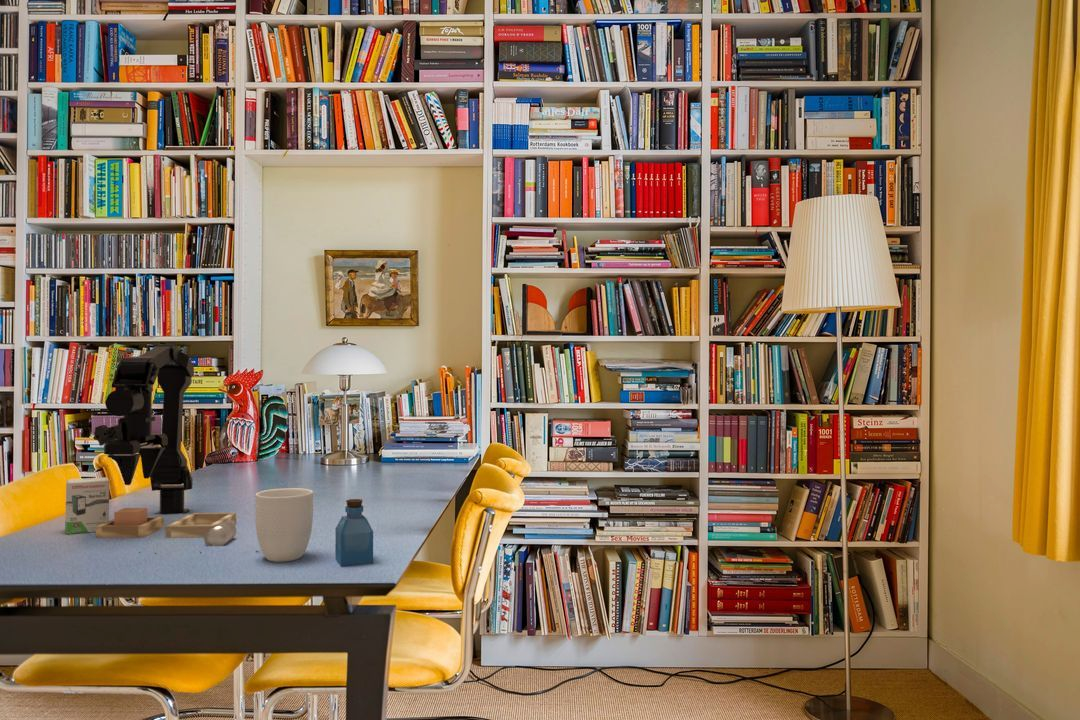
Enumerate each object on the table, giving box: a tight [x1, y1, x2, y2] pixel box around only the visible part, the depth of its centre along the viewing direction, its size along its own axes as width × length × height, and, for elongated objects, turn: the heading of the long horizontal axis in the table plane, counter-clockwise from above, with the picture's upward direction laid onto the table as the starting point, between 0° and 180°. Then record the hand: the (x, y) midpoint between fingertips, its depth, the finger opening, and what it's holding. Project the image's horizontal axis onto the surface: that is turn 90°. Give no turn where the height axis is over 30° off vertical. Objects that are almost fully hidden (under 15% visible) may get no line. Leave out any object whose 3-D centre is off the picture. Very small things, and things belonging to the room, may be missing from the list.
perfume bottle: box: [334, 498, 374, 567], centre depth 155 cm, size 6×6×12 cm
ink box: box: [64, 476, 110, 535], centre depth 181 cm, size 9×5×12 cm, turn 123°
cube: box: [113, 507, 148, 525], centre depth 177 cm, size 5×5×5 cm
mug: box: [254, 487, 314, 563], centre depth 158 cm, size 15×11×13 cm
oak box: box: [95, 516, 165, 539], centre depth 176 cm, size 10×10×3 cm
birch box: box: [164, 512, 237, 539], centre depth 179 cm, size 15×10×3 cm
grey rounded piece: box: [203, 521, 238, 547], centre depth 168 cm, size 7×4×4 cm, turn 3°
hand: (137, 481), depth 178 cm, fingers open, 9 cm apart
